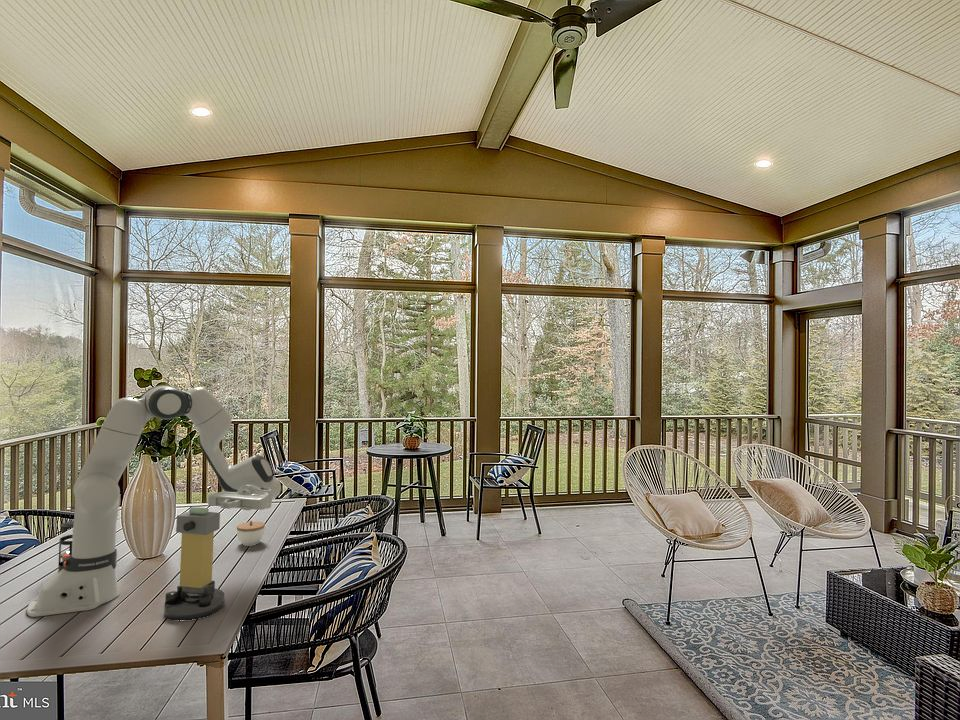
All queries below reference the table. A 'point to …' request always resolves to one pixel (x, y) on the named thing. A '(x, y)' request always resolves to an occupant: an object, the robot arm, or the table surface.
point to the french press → (65, 527)
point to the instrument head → (196, 548)
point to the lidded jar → (250, 532)
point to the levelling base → (193, 603)
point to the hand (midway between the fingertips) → (224, 506)
